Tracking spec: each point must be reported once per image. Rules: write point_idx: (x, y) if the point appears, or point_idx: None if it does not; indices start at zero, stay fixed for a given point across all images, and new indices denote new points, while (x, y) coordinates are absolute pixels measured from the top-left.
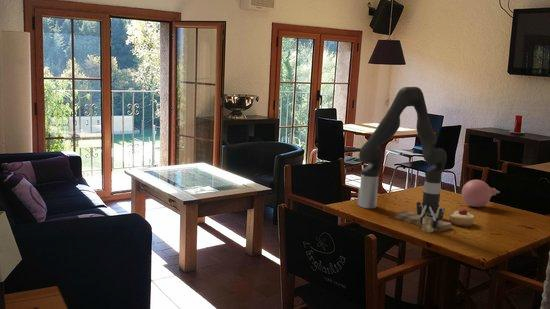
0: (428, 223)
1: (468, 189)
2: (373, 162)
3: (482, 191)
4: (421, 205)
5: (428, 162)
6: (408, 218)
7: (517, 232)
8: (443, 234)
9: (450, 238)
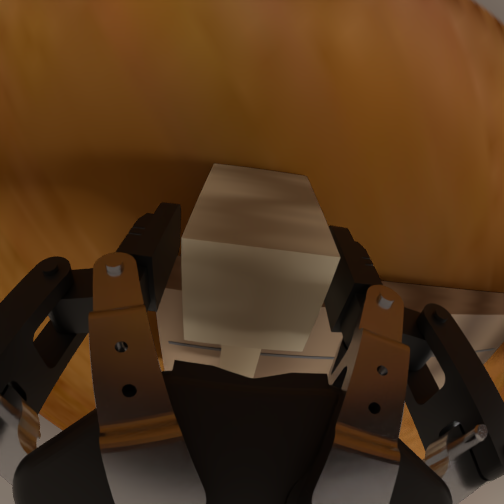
0: (219, 206)
1: None
2: None
3: None
4: (443, 457)
5: None
6: (461, 307)
7: (58, 410)
8: (105, 219)
9: (27, 173)
